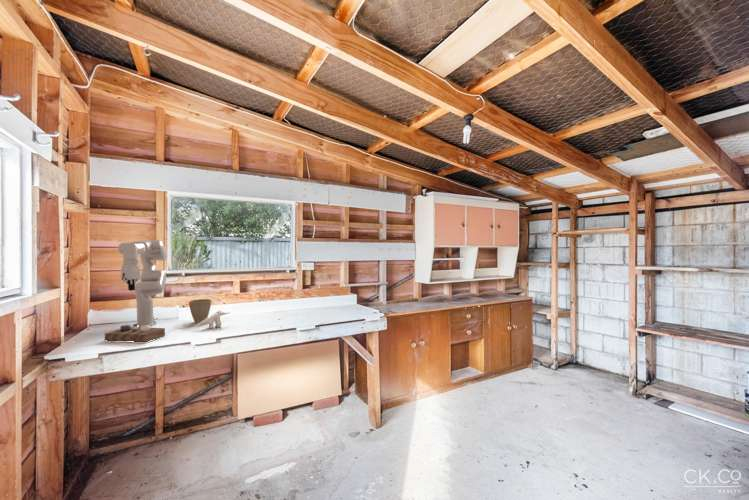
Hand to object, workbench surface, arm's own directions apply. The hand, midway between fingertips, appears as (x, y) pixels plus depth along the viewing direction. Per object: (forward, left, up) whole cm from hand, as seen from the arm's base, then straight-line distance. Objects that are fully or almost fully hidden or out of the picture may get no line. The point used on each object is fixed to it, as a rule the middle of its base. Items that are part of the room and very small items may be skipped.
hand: (131, 290), depth 203 cm
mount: (+8, +10, -29) cm, 32 cm away
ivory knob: (+8, +17, -29) cm, 34 cm away
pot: (+8, +10, -24) cm, 27 cm away
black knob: (+8, +3, -29) cm, 30 cm away
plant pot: (-34, +23, -29) cm, 50 cm away
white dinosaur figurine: (-20, +42, -29) cm, 55 cm away
